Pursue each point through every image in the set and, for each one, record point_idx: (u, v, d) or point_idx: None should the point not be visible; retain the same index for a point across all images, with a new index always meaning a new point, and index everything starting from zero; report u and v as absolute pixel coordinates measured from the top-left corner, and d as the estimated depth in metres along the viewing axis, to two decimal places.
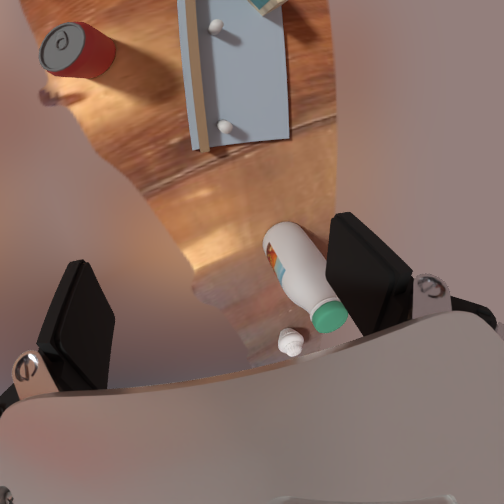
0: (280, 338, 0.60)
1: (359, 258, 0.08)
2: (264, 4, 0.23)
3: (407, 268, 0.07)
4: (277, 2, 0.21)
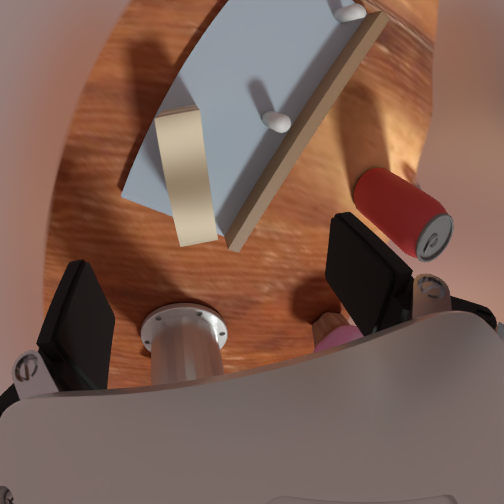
0: None
1: (359, 258, 0.08)
2: None
3: (407, 268, 0.07)
4: (199, 112, 0.16)
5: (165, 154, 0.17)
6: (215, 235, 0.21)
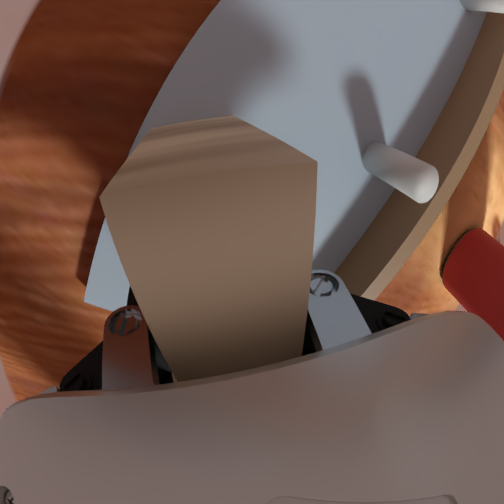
0: None
1: None
2: None
3: None
4: None
5: (167, 328, 0.05)
6: None
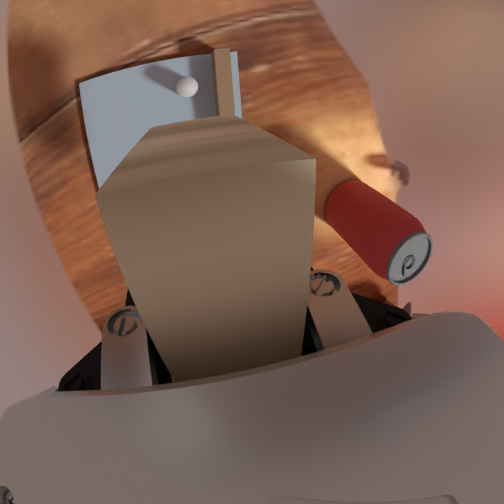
0: None
1: None
2: None
3: None
4: None
5: (164, 327, 0.05)
6: None
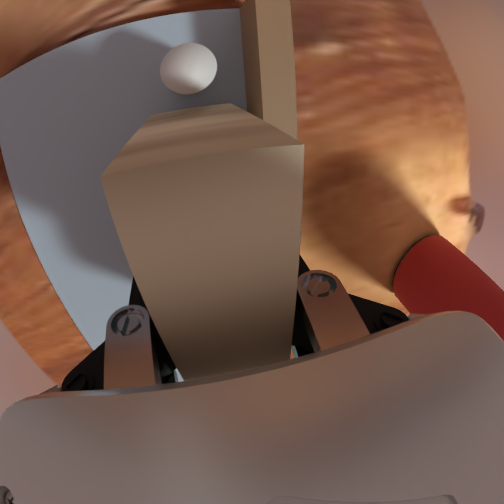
0: None
1: None
2: None
3: None
4: None
5: (162, 303, 0.05)
6: None
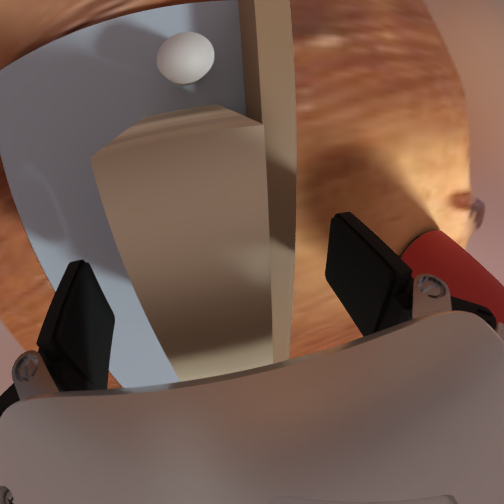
0: None
1: (359, 258, 0.08)
2: None
3: (407, 268, 0.07)
4: None
5: (144, 276, 0.05)
6: None
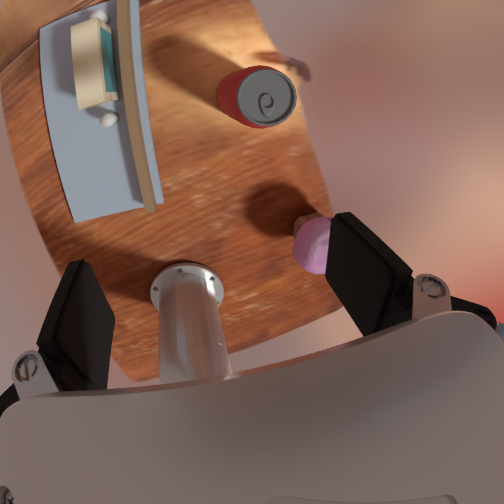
0: None
1: (359, 258, 0.08)
2: (105, 30, 0.19)
3: (407, 268, 0.07)
4: (97, 18, 0.16)
5: (74, 46, 0.17)
6: (102, 97, 0.21)
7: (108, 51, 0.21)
